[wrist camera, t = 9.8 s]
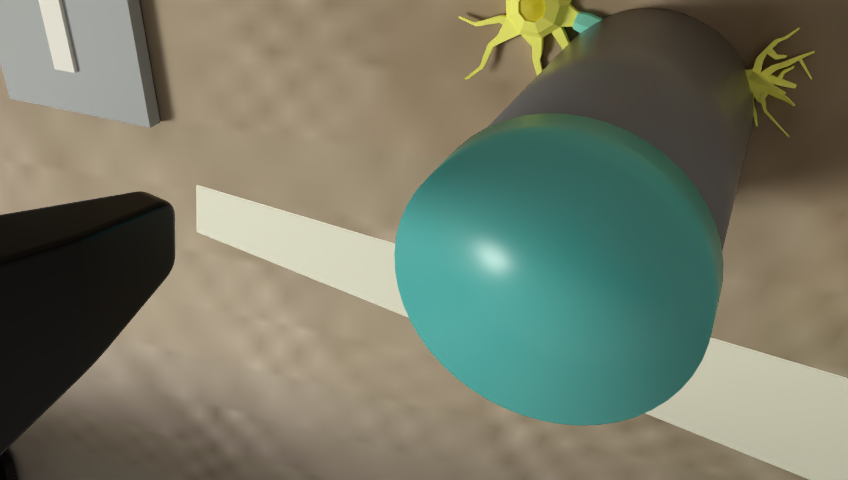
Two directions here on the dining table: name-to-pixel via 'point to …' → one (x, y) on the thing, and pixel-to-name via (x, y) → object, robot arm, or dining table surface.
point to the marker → (586, 225)
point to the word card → (79, 57)
